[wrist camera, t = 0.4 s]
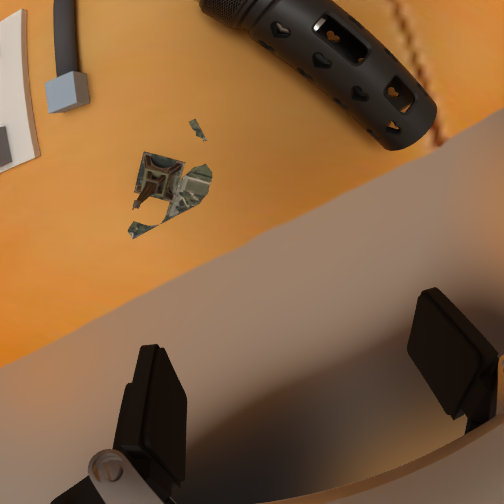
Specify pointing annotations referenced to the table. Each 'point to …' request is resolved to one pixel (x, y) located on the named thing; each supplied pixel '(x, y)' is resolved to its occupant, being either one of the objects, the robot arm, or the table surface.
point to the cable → (66, 63)
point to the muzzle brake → (336, 62)
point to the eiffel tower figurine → (170, 184)
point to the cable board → (15, 95)
